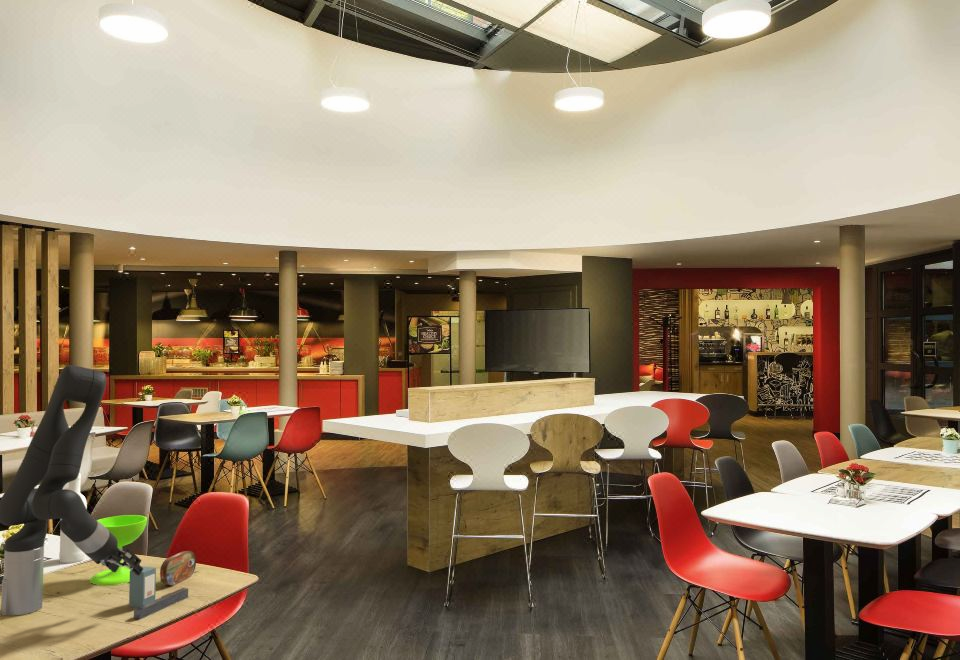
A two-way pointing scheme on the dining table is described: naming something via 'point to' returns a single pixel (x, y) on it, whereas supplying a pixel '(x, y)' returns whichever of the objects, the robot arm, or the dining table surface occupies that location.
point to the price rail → (160, 603)
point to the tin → (178, 568)
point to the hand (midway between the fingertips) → (128, 570)
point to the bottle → (67, 546)
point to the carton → (142, 587)
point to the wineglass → (120, 545)
